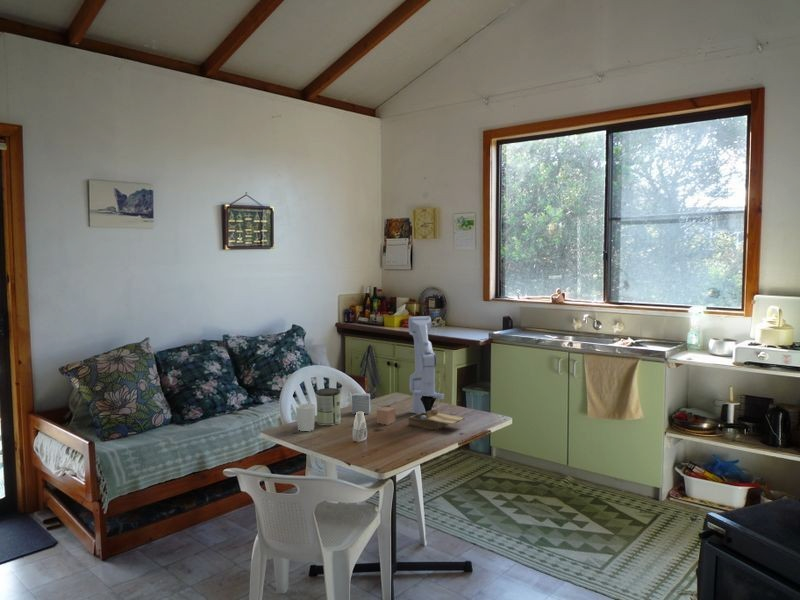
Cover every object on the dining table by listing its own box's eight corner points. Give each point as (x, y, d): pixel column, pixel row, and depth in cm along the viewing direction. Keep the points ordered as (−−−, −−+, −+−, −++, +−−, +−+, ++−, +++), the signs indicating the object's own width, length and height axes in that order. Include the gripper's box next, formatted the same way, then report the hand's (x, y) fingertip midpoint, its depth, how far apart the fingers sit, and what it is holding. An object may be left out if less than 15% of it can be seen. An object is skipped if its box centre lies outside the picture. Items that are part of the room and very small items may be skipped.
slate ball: (422, 420, 269) (422, 413, 269) (428, 421, 267) (428, 414, 267) (418, 422, 266) (418, 415, 266) (424, 423, 265) (424, 416, 264)
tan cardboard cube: (384, 420, 270) (384, 406, 270) (395, 422, 267) (395, 408, 267) (377, 423, 266) (376, 409, 265) (387, 425, 263) (387, 411, 262)
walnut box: (421, 419, 271) (421, 412, 271) (449, 424, 263) (449, 416, 263) (408, 424, 263) (408, 417, 263) (436, 430, 255) (436, 422, 254)
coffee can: (318, 419, 273) (317, 388, 271) (341, 419, 273) (340, 387, 272) (315, 426, 262) (314, 393, 261) (340, 425, 263) (339, 393, 262)
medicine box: (370, 411, 285) (370, 393, 284) (369, 414, 280) (368, 395, 279) (353, 411, 285) (353, 393, 285) (352, 414, 281) (351, 395, 280)
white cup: (319, 429, 258) (318, 405, 257) (304, 433, 252) (303, 409, 251) (307, 425, 263) (307, 402, 262) (292, 429, 258) (292, 406, 257)
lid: (436, 414, 266) (436, 407, 266) (464, 418, 258) (464, 411, 258) (423, 419, 258) (423, 412, 258) (452, 424, 250) (452, 417, 250)
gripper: (408, 381, 262) (409, 413, 263) (437, 386, 254) (437, 418, 255) (417, 378, 268) (418, 409, 269) (446, 382, 260) (446, 414, 261)
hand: (428, 413), depth 262 cm, fingers closed
